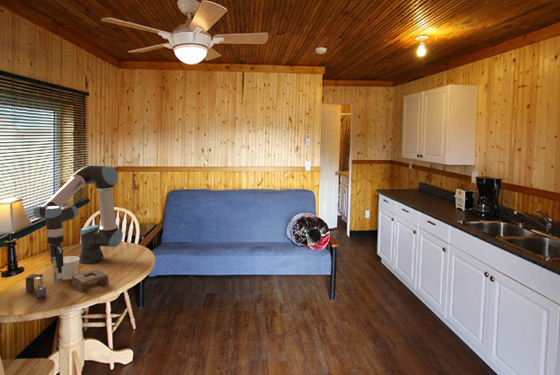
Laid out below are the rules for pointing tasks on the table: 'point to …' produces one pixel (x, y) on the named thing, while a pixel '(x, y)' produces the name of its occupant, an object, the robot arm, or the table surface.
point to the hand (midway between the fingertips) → (58, 276)
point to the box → (31, 281)
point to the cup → (70, 267)
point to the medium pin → (38, 283)
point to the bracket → (89, 279)
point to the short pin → (41, 293)
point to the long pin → (55, 272)
